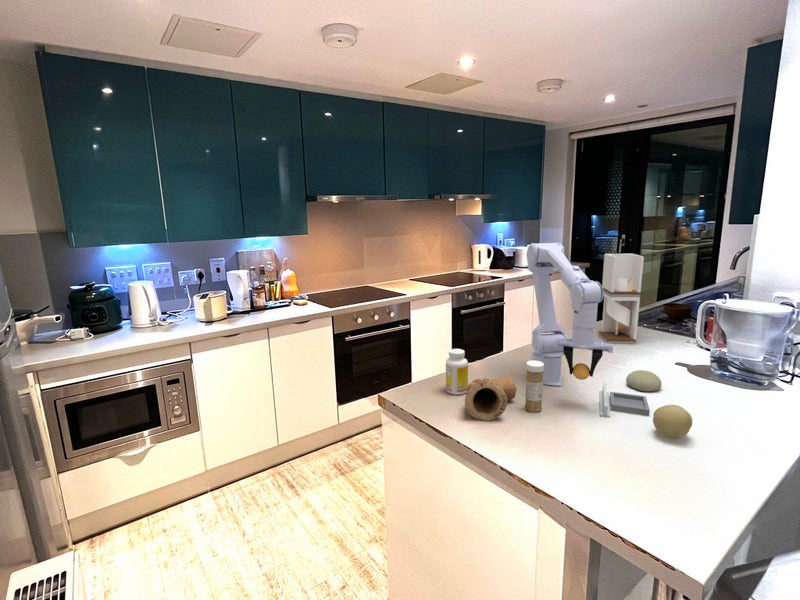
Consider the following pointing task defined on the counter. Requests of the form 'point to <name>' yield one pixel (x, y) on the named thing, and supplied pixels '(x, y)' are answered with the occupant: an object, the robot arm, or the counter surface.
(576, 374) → the ball
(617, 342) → the tall curved cream stand
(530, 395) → the sprinkles bottle
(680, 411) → the potato
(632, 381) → the sea urchin shell
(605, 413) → the divider
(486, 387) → the clay pipe
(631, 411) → the dish
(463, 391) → the supplement bottle
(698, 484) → the counter surface
